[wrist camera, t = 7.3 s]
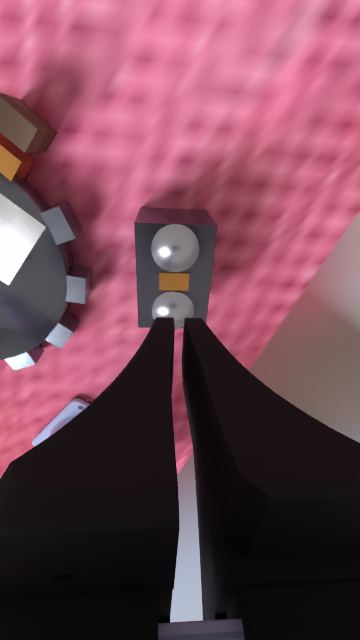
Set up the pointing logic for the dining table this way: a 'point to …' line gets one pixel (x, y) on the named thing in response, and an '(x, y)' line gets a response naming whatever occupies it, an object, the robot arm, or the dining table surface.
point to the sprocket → (34, 265)
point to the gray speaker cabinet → (173, 264)
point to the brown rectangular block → (24, 125)
